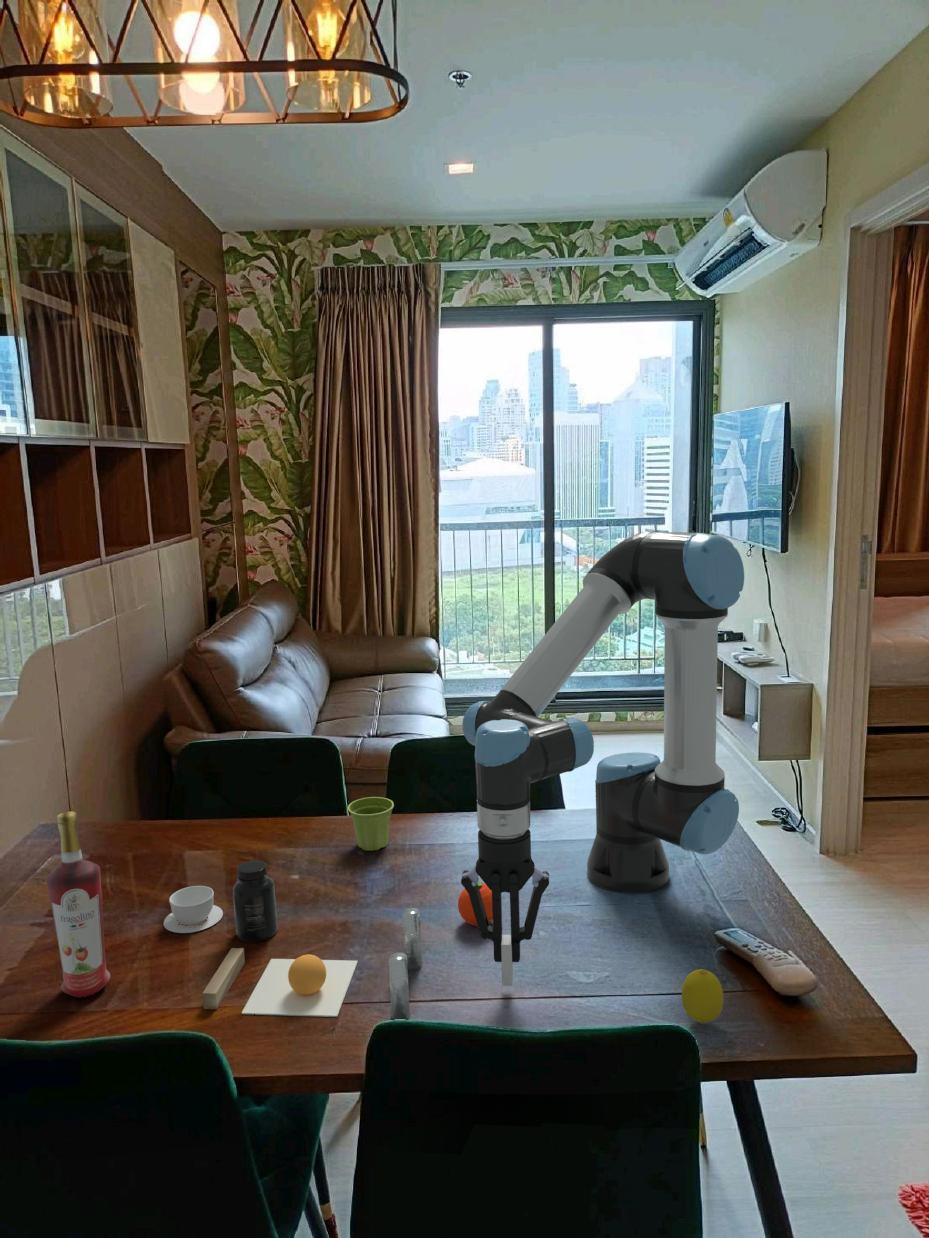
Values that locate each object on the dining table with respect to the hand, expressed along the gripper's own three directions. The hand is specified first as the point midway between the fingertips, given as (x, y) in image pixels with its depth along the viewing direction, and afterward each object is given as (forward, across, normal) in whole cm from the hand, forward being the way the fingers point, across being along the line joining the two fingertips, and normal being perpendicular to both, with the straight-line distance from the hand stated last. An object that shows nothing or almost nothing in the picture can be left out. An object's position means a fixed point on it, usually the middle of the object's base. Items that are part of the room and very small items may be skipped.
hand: (507, 980), depth 128 cm
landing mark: (+2, -31, 0) cm, 31 cm away
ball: (-1, -30, -1) cm, 30 cm away
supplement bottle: (+2, -43, +15) cm, 46 cm away
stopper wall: (+2, -43, 0) cm, 43 cm away
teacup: (+2, -56, +19) cm, 59 cm away
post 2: (+2, -15, +6) cm, 16 cm away
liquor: (+2, -64, -2) cm, 64 cm away
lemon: (+2, +27, -6) cm, 28 cm away
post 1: (+2, -15, -6) cm, 16 cm away
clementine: (+2, -6, +20) cm, 21 cm away
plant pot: (+2, -30, +50) cm, 58 cm away
